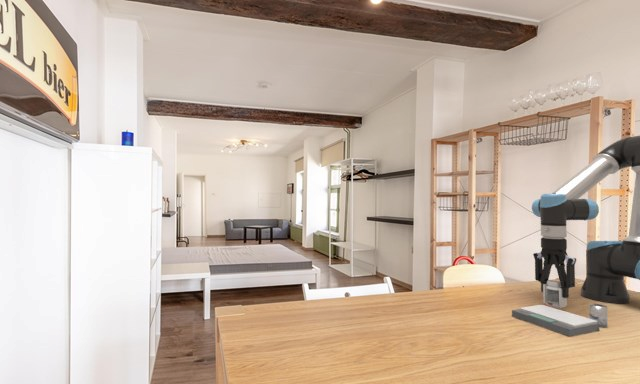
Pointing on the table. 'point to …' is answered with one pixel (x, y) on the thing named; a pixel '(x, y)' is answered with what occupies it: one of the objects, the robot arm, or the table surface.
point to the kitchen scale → (556, 320)
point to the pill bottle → (552, 293)
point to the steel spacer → (598, 314)
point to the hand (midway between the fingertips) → (554, 304)
